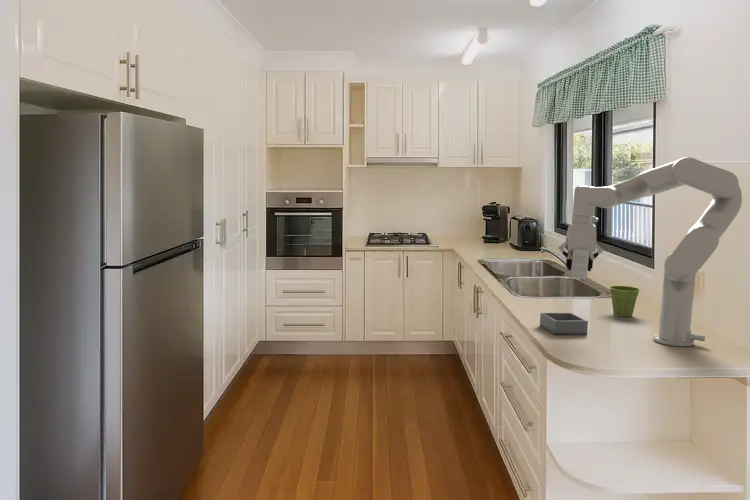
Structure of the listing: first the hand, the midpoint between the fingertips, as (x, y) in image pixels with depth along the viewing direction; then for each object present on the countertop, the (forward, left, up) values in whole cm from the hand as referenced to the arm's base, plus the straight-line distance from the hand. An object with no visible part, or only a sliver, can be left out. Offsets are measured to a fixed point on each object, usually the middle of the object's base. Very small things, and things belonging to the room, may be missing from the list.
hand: (578, 269), depth 224 cm
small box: (0, 0, -3) cm, 3 cm away
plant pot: (-13, -36, -22) cm, 44 cm away
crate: (+3, +5, -22) cm, 23 cm away
